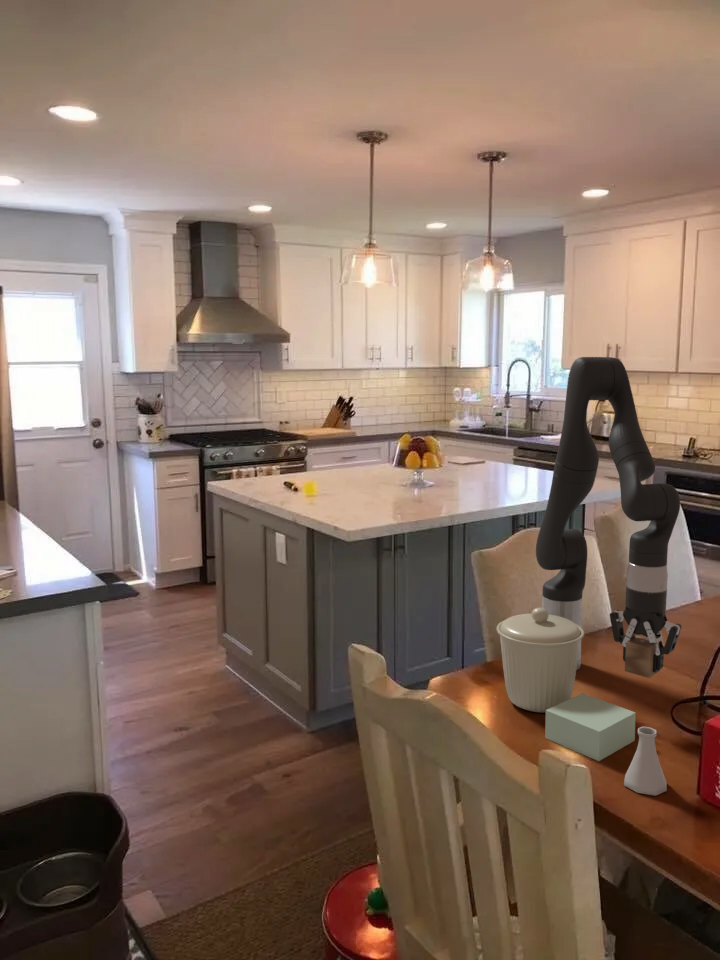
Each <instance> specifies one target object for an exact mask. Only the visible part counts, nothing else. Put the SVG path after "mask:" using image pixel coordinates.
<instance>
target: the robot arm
mask: <svg viewBox="0 0 720 960" xmlns="http://www.w3.org/2000/svg"><path fill="white" fill-rule="evenodd" d="M630 383H631V382H630V380H629V376H628V371H627V369H626V367H625V365H624V364H623V362H622V361H621V360H620V359H619V358H616V357H612V356H611V357H610V356H582V357H577V358H576V359H575V360H574V361H573V363H572V365H571V367H570V368H569V372H568V378H567V385H566V394H565V404H564V405H565V407H564V415H563V421H562V428H561V433H560V439H559V444H558V449H557V453H556V457H555V462H554V467H553V473H552V479H551V486H550V491H549V495H548V498H547V499H548V500H547V503H546V508H545V512H544V516H543V518H542V521H541V525H540V528H539V531H538V534H537V539H536V546H535V556H536V561H537V564H538V566H539V567H541V568H542V569H543V570H546V571H556V570H557V571H558V570H560V571H559V572H557V574H556V575H555V576H553V577H552V578H550V579H548V580H547V581H545V582H544V583H543V585H542V598H541V599H542V600H541V601H542V603H541V605H542V606H541V608H544V609H546V610H547V611H548V613H549V615H555V616H559V617H563V618H566V619H568V620H570V621H572V622H574V623H575V624H577V625H578V626H580V627H581V628H582V626H583V625H582V624H583V618H582V617H583V591H584V589H585V586H586V577H587V567H588V566H587V565H588V543H587V540H586V537H585V536H584V534H583V533H582V531H581V530H579V529H575V528H569V529H566V525H567V523H568V521H569V519H570V517H571V516H572V514H574V512H575V511H576V510H577V509H578V507H579V506H580V505H581V504H582V502H584V500H585V499H586V498H587V496H588V495H589V494H590V492H591V491H592V489H593V487H594V485H595V482H596V477H597V471H598V467H599V463H600V458H599V457H600V456H599V452H598V451H599V450H598V449H597V445H596V444H595V440H594V438H593V437H592V435H591V433H590V430H589V427H588V423H587V417H588V416H587V412H588V406H589V403H590V401H608V402H609V403H610V405H611V408H612V409H613V414H614V418H613V422H612V425H611V429H610V433H609V435H608V448H609V452H610V455H611V458H612V460H613V463H614V465H615V467H616V470H617V473H618V477H619V478H618V479H619V486H620V487H619V488H620V505H621V510H622V511H623V513H624V514H625V515H626V517H627V518H628V519H629V520H632V521H634V522H647V521H648V522H649V524H648V526H647V527H646V528H644V529H642V530H639V531H636V532H633V533H631V535H630V538H629V543H628V545H629V547H628V548H629V549H628V564H627V568H626V576H625V603H624V604H625V609H624V610H621V611H620V610H619V609H616V610H614V611H612V612H610V613H609V619H610V625H611V629H612V636H613V640H614V642H617V643H620V644H621V645H622V659H623V660H622V661H623V662H625V653H626V642H627V641H630V640H631V639H632V638H635V637H636V636H640V635H641V636H642V637H645V638H649V642H650V644H652V647H654V649H653V651H654V655H653V672H655V673H656V674H657V673H658V672H661V671H660V670H662V669H663V667H664V659H665V658H664V656H665V655H669V654H671V653H672V652H673V651H675V649H676V647H677V642H678V640H679V637H680V633H681V630H682V625H681V624H680V623H676V624H675V623H673V622H670V621H669V620H668V618H667V615H666V612H667V611H666V610H667V597H668V596H667V595H668V580H669V578H668V576H669V575H668V574H669V573H668V554H669V553H668V552H669V541H670V539H671V537H672V534H673V531H674V528H675V525H676V522H677V520H678V517H679V513H680V509H681V497H680V494H679V491H678V490H677V489H676V488H675V486H673V485H672V484H669V483H649V484H646V483H645V484H643V483H642V482H644V481H647V480H648V479H650V478H651V477H652V476H653V475H654V474H655V471H656V464H655V461H654V459H653V456H652V453H651V452H650V449H649V447H648V444H647V443H646V439H645V438H644V435H643V432H642V429H641V426H640V423H639V419H638V415H637V414H638V413H637V411H636V410H637V409H636V404H635V399H634V396H633V392H632V387H631V384H630ZM624 620H625V622H626V624H627V625H628V627H627V629H626V632H625V630H624V623H623V621H624ZM664 628H665V629H666V634H667V638H666V641H665V644H664V637H663V634H662V630H663V629H664ZM582 629H583V628H582ZM581 664H582V639H581V640H580V647H579V654H578V661H577V669H576V671H577V670H579V669H580V668H581Z"/></svg>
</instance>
